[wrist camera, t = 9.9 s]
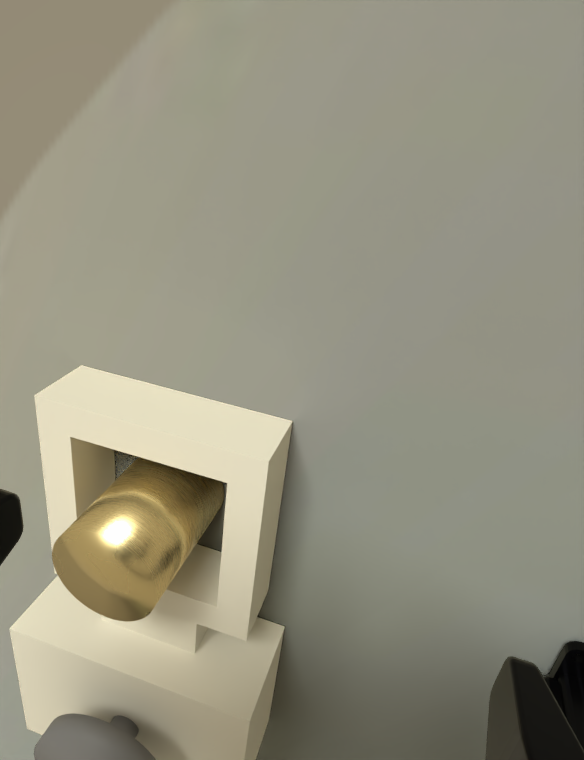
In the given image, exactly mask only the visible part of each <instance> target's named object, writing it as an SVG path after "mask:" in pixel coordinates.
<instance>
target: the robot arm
mask: <svg viewBox="0 0 584 760" xmlns="http://www.w3.org/2000/svg"><path fill="white" fill-rule="evenodd" d="M22 532H23V519H22V512H21V505H20V499H19V497H18V496H17V495H16V494H15V493H12V492H9V491H6V490H2V489H0V565H1V564H2V563H3V561H4V560H5V558H6V557H7V556H8V554H9V553H10V552H11V550H12V549H13V547H14V546H15V545H16V543H17V542H18V540H19V539H20V537H21V535H22ZM577 654H580V655H577ZM486 760H584V643H582V642H577V641H574V642H569V643H567V644H566V645H565V646H564V648H563V650H562V652H561V654H560V655H559V657H558V659H557V661H556V663H555V665H554V667H553V668H552V670H551V672H550V674H549V676H546V677H544V678H543V676H542V674H541V672H540V670H539V669H538V667H537V666H536V665H535V664H533V663H531V662H528V661H525V660H522V659H519V658H516V657H512V656H510V657H508V658H507V659H506V660H505V662H504V664H503V666H502V668H501V670H500V672H499V674H498V676H497V679H496V681H495V683H494V685H493V687H492V691H491V695H490V702H489V716H488V731H487V745H486Z"/></svg>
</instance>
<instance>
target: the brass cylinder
mask: <svg viewBox="0 0 584 760" xmlns="http://www.w3.org/2000/svg"><path fill="white" fill-rule="evenodd" d="M223 499H224V489H223V484H222V481H219V480H215V479H212V478H208V477H205V476H202V475H198V474H195V473H191V472H188V471H185V470H181V469H178V468H175V467H171V466H168V465H164V464H161V463H158V462H154V461H151V460H147V459H144V458H141V457H138V458H137V459H136V460H135V461H134V462H133V463H132V464H131V465H130V466H129V467H128V468H127V469H126V470H125V471H124V472H123V473H122V474H121V475H120V476H119V477H118V478H117V479H116V480H115V481H114V482H113V483H112V484H111V485H110V486H109V487H108V488H107V489H106V490H105V491H104V492H103V493H102V494H101V495H100V496H99V497H98V498H97V499H96V500H95V501H94V502H93V503H92V504H91V505H90V506H89V507H88V508H87V509H86V510H85V511H84V512H83V513H82V514H81V515H80V516H79V517H78V518H77V519H76V520H75V521H74V522H73V524H72V525H71V526H70V527H69V528H68V529H67V530H66V531H65V532H64V533H63V534H62V535H61V536H60V537H59V538H58V539H57V540H56V542H55V544H54V546H53V550H52V559H53V564H54V567H55V570H56V572H57V574H58V576H59V578H60V580H61V581H62V583H63V584H64V586H65V587H66V588H67V589H68V591H69V592H70V593H71V594H72V595H73V596H74V597H75V598H76V599H77V600H79V601H80V602H81V603H82V604H84V605H85V606H86V607H88V608H89V609H91V610H93V611H94V612H96V613H98V614H100V615H102V616H105V617H107V618H110V619H113V620H118V621H137V620H140V619H143V618H145V617H146V616H148V615H149V614H150V613H151V611H152V610H153V609H154V607H155V606H156V604H157V603H158V601H159V600H160V598H161V597H162V595H163V594H164V592H165V591H166V589H167V588H168V586H169V585H170V583H171V582H172V580H173V579H174V577H175V576H176V574H177V573H178V571H179V570H180V568H181V566H182V565H183V563H184V562H185V560H186V559H187V557H188V556H189V554H190V553H191V551H192V550H193V548H194V547H195V545H196V544H197V542H198V541H199V539H200V538H201V536H202V535H203V533H204V532H205V530H206V529H207V527H208V526H209V524H210V523H211V521H212V520H213V518H214V517H215V515H216V514H217V512H218V511H219V509H220V508H221V506H222V503H223Z"/></svg>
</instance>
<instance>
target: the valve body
mask: <svg viewBox="0 0 584 760" xmlns="http://www.w3.org/2000/svg"><path fill="white" fill-rule="evenodd" d="M35 404H36V413H37V422H38V431H39V440H40V449H41V458H42V466H43V475H44V484H45V493H46V502H47V511H48V520H49V529H50V538H51V546H52V550H53V546H54V544H55V542H56V540H57V539H58V538H59V537H60V536H61V535H62V534H63V533H64V532H65V531H66V530H67V529H68V528H69V527H70V526H71V525H72V524H73V522H74V521H75V520H76V519H77V518H78V517H79V516H80V515H81V514H82V513H83V512H84V511H85V510H86V509H87V508H88V507H89V506H90V505H91V504H92V503H93V502H94V501H95V500H96V499H97V498H98V497H99V496H100V495H101V494H102V493H103V492H104V491H105V490H106V489H107V488H108V487H109V486H110V485H111V484H112V483H113V482H114V481H115V454H114V450H117V451H120V452H124V453H127V454H131V455H134V456H137V457H141V458H144V459H147V460H151V461H154V462H158V463H161V464H164V465H168V466H171V467H175V468H178V469H181V470H185V471H188V472H191V473H195V474H198V475H202V476H205V477H208V478H212V479H215V480H219V481H222V482H225V483H227V493H226V505H225V517H224V529H223V541H222V552H220V551H217V550H214V549H210V548H207V547H204V546H201V545H198V544H196V545H195V547H194V548H193V550H192V551H191V553H190V554H189V556H188V557H187V559H186V560H185V562H184V563H183V565H182V566H181V568H180V570H179V571H178V573H177V574H176V576H175V577H174V579H173V580H172V582H171V583H170V585H169V586H168V588H167V589H166V591H165V592H164V594H163V595H162V597H161V598H160V600H159V601H158V603H157V604H156V606H155V607H154V609H153V610H152V611H151V613H150V614H149V615H148V616H146V617H145V618H143V619H140V620H137V621H118V620H113V619H110V618H107V617H105V616H102V615H100V614H98V613H96V612H94V611H93V610H91V609H89V608H88V607H86V606H85V605H84V604H82V603H81V602H80V601H79V600H77V599H76V598H75V597H74V596H73V595H72V594H71V593H70V592H69V591H68V589H67V588H66V587H65V586H64V584H63V583H62V581H61V580H60V578H59V576H57V577H56V578H55V579H54V580H53V581H52V582H51V583H50V585H49V586H48V587H47V588H46V589H45V590H44V591H43V592H42V593H41V594H40V596H39V597H38V598H37V599H36V600H35V601H34V602H33V603H32V604H31V606H30V607H29V608H28V609H27V610H26V611H25V612H24V613H23V614H22V616H21V617H20V618H19V619H18V620H17V621H16V622H15V623H14V624H13V625H12V627H11V628H10V634H11V640H12V646H13V651H14V657H15V662H16V668H17V674H18V679H19V685H20V691H21V696H22V702H23V708H24V713H25V719H26V724H27V729H29V730H32V731H34V732H36V733H39V734H41V735H42V737H41V738H40V740H39V741H38V742H37V744H36V746H35V749H34V757H35V760H256V757H257V754H258V751H259V748H260V745H261V742H262V739H263V736H264V733H265V730H266V727H267V724H268V721H269V716H270V710H271V705H272V699H273V693H274V687H275V681H276V675H277V669H278V664H279V658H280V652H281V646H282V640H283V634H284V628H285V626H282V625H279V624H276V623H273V622H270V621H267V620H265V619H262V618H259V617H257V616H258V613H259V611H260V609H261V606H262V604H263V602H264V599H265V597H266V595H267V592H268V590H269V583H270V576H271V569H272V562H273V555H274V548H275V541H276V534H277V527H278V520H279V513H280V506H281V499H282V492H283V485H284V478H285V471H286V464H287V457H288V450H289V443H290V436H291V429H292V423H293V421H290V420H286V419H283V418H279V417H275V416H271V415H268V414H264V413H260V412H256V411H252V410H249V409H245V408H241V407H237V406H234V405H230V404H226V403H222V402H218V401H215V400H211V399H207V398H203V397H199V396H196V395H192V394H188V393H184V392H181V391H177V390H173V389H169V388H165V387H162V386H158V385H154V384H150V383H146V382H143V381H139V380H135V379H131V378H128V377H124V376H120V375H116V374H112V373H109V372H105V371H101V370H97V369H94V368H90V367H86V366H82V365H81V366H80V367H78V368H76V369H75V370H73V371H72V372H70V373H69V374H67V375H66V376H64V377H62V378H61V379H59V380H58V381H56V382H55V383H53V384H51V385H50V386H48V387H47V388H45V389H44V390H42V391H40V392H39V393H37V394H36V395H35ZM54 573H56V574H57V572H56V570H55V567H54Z"/></svg>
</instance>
